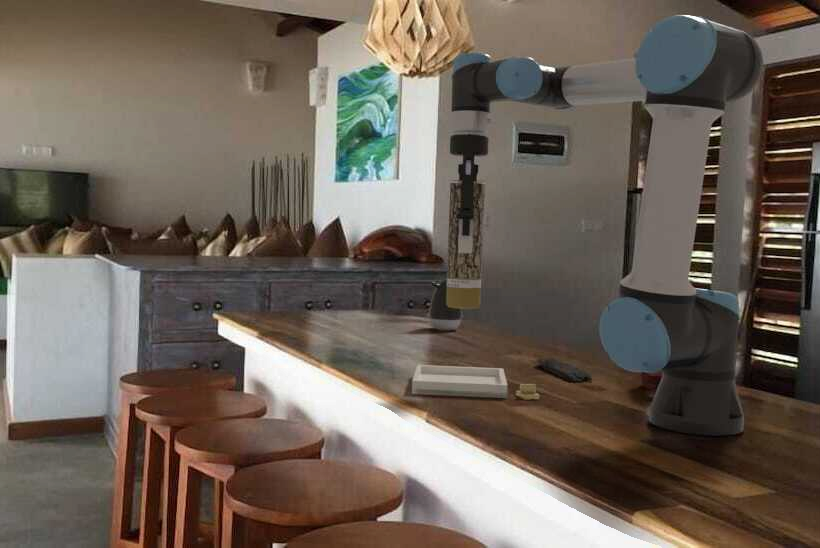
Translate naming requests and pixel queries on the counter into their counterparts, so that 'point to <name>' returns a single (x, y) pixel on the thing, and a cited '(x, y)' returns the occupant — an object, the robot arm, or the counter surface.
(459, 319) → the pump dispenser
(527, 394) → the tan short block
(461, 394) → the ceramic dish
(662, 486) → the counter surface
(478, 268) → the paper tube
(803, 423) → the counter surface
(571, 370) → the wood
